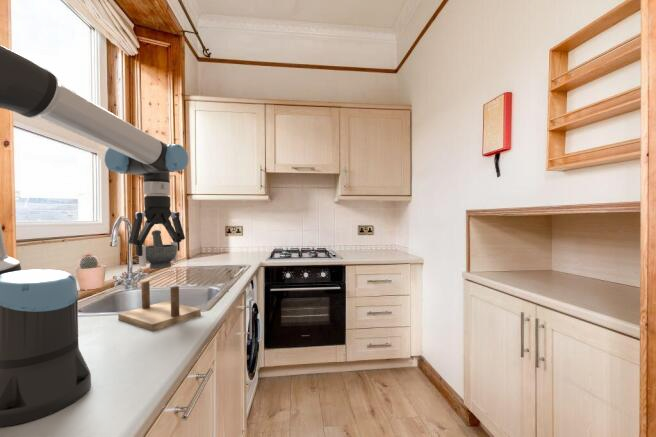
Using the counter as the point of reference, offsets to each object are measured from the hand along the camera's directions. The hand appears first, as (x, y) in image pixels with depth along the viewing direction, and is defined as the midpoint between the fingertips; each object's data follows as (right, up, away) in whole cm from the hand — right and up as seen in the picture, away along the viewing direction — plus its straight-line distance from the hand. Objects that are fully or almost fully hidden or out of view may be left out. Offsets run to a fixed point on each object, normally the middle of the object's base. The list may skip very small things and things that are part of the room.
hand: (159, 263), depth 101 cm
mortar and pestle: (0, -1, 0) cm, 1 cm away
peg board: (0, -18, 0) cm, 18 cm away
